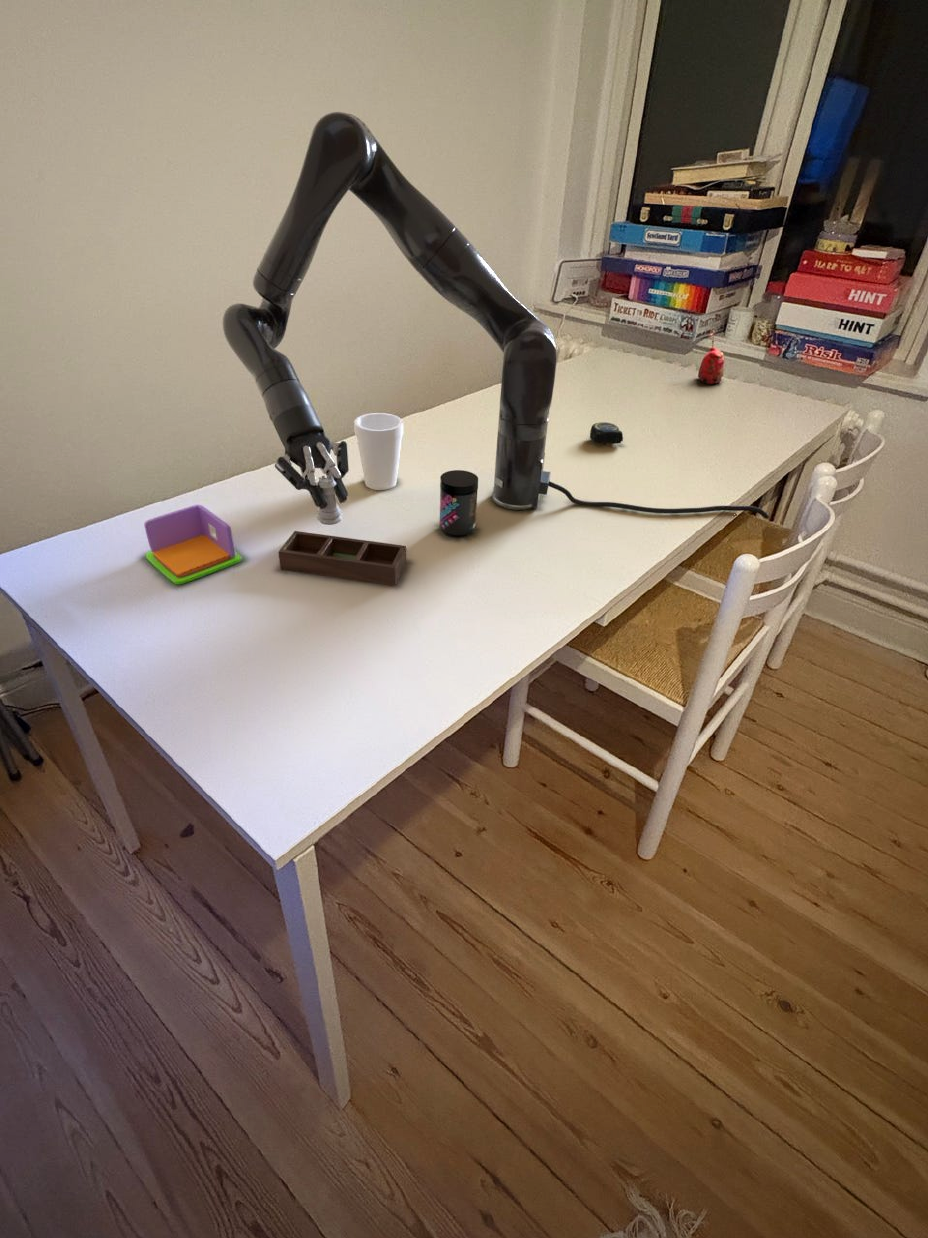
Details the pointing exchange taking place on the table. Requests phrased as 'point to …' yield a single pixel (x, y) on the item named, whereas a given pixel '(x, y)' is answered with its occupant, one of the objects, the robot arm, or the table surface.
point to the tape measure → (605, 433)
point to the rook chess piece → (329, 502)
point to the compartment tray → (343, 558)
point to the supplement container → (458, 503)
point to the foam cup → (379, 448)
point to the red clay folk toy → (712, 365)
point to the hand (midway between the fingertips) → (334, 503)
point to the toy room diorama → (190, 544)
